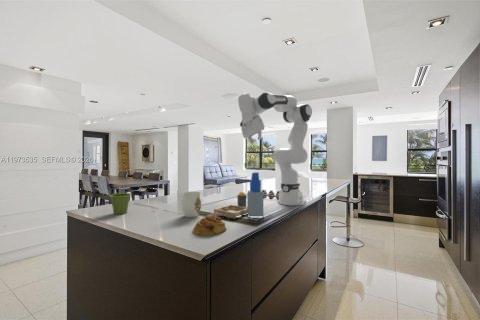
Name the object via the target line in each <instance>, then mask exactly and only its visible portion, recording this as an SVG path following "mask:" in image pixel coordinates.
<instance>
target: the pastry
mask: <svg viewBox="0 0 480 320" xmlns="http://www.w3.org/2000/svg"><path fill="white" fill-rule="evenodd" d="M226 231H227V227H226V223H225V221H223V220H222V217H219V215H218V214H216V213H214V212H213V213H209V214H207V215H206V216H203V217H202V218H201V219H199V220H198V221H197V222H196V224H195V225H194V226H193V229H192V234H195V235H196V236H208V237H211V236H213V235H219V234H223V233H225V232H226Z"/></svg>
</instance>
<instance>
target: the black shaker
mask: <svg viewBox="0 0 480 320" xmlns="http://www.w3.org/2000/svg"><path fill="white" fill-rule="evenodd" d="M236 198H237V206H241V207H247V194H245V196H239V194H237V196H236Z"/></svg>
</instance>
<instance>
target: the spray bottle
mask: <svg viewBox="0 0 480 320" xmlns="http://www.w3.org/2000/svg"><path fill="white" fill-rule="evenodd" d="M259 175H260V173H259V172H257V171H254V172H253V171H252V172H251V178H250V180H249V190H247V194H246V207H247V208H248V215H249V216H263V217H264V191H263V190H262V189H261V187H262V186H261V185H262V181H261V179H260V176H259ZM248 215H247V216H248Z"/></svg>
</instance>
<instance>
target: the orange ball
mask: <svg viewBox="0 0 480 320" xmlns="http://www.w3.org/2000/svg"><path fill="white" fill-rule="evenodd" d="M238 195H239V196H245V195H246V193H245V192H244V191H240V192H239V193H238Z"/></svg>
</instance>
